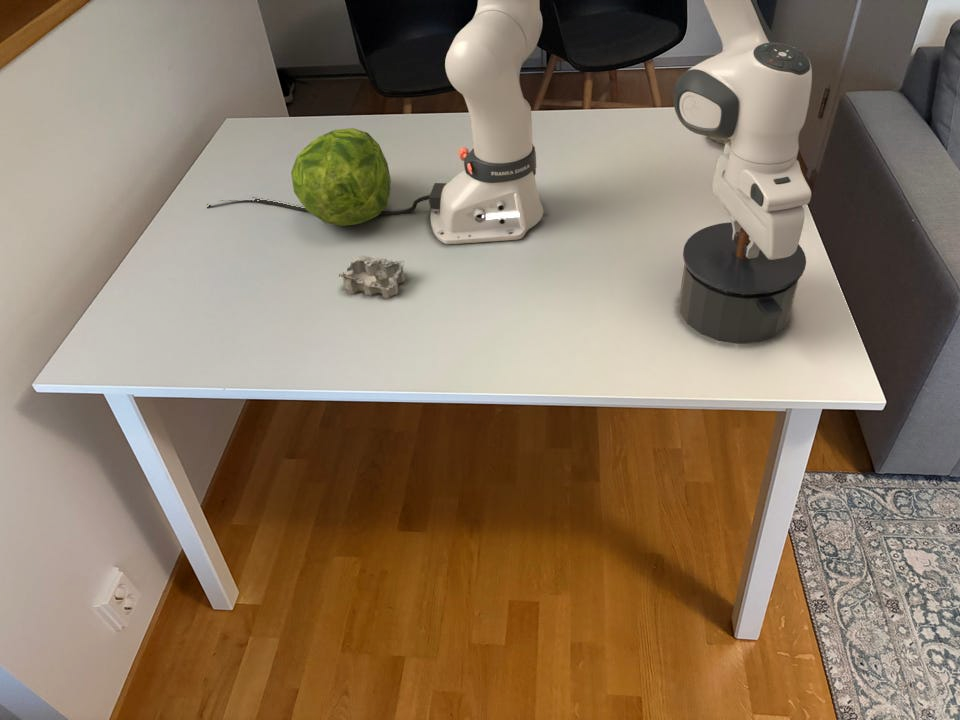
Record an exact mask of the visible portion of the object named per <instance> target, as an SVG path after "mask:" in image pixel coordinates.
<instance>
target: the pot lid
mask: <svg viewBox="0 0 960 720" xmlns="http://www.w3.org/2000/svg"><path fill="white" fill-rule="evenodd" d="M732 236H733V227H732V221H731V222H730V221H729V222H722V223H716V224H712V225H708V226H705V227H704V228H701V229H700V230H699V229H698V231H696V232H694V233H693V234H692V235H691V236H690V237H689V238H688V239H687V240H686V242H685V243H684V246H683V252H682V260H683V263H684V262H685V265H686V267H687V268H688V270H689V271H690V272H691V273H692V274H693V275H694V276H695V277H696V278H698V279H699V280H701V281H702V282H704V283H706V284H708V285H710V286H712V287H715V288H717V289H720V290H724V291H728V292H733V293H740V294H764V293H771V292H775V291H779V290H781V289H784V288H786V287H788V286H790V285H792V284H793V283H795V282H796V281H797V280H798V279H799V280H800V279H801V277H802V276H803V274H804V273H805V270H806V266H807V257H806V253H805V251H804V249H803V247H801V245H800V244H799V243H798V247H797V249H796V251H795V253H794V254H792V255H791V256H789V257H785V258H781V259H775V260H769V259H768V258H767V257H766V256H765V254H764V253H763V252H762V251H761V250H759V255H758V257H756V258H752V259H748V258H747V257H746V256H745V254H744V253H743V250H744V245H745V244H749V243H750V242H751V241H750V240H749V235H748V234H747V233H746V232H745V230H744V229H743V228H742V227H741V228H740V232H739V238H738V243H737V244H736V243H735V242H734V241H733V240H732Z"/></svg>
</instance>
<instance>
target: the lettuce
mask: <svg viewBox="0 0 960 720" xmlns="http://www.w3.org/2000/svg"><path fill="white" fill-rule="evenodd" d="M290 175H291V182H292V188H293V192H294V195H295V196H296V197H297V199H298V201H299V202H300V203H301V204H302V207H305V209H306V210H307V211H308V212H307V213H310V214H311V215H313V216H314V217H316V218H317V219H319V220H321V221H322V222H323V223H324V224H325V223H326V224H328V225H329V224H330V225H332V226H333V225H334V226H338V227H343V226H344V227H346V226H354V225H360V224H363V223H365V222H367V221H370V220H372V219H374V218H376V217H379V216H380V215H379V214H380V213H381V212H382V211H384V210H385V209H386V207H387V206H388V205H389V201H390V193H391V186H392V185H391V184H392V177H391V174H390V168H389V163H388V162H387V158H386V157H385V154H384V152H383V150H382V148H381V145H380V143H378V142H377V141H376V140H375V139H374V138H373V136H372V135H370V133H369V132H366V131H363V130H360V129H357V128H354V127H350V128H349V127H348V128H339V129H334V130H331V131H328V132H327V133H325V134H323V135H320V136H318V137H316V138H315V139H313V140H312V141H310V143H309V144H308V145H306V146H305V147H304V148H303V149H302V150H300V152H299V153H298V154H297V155H296V158H295V161H294V164H293V166H292V169H291V172H290Z"/></svg>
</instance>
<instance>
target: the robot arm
mask: <svg viewBox="0 0 960 720" xmlns="http://www.w3.org/2000/svg"><path fill="white" fill-rule="evenodd" d="M702 1H703V3H704V6H705V8H706V10H707V12H708V14H709V17H710V18H711V21H712V23H713V25H714V27H715V30H716V31H717V34H718V36H719V39H720V41H721V45H722V51H721V52H719V53H717V54H716V55H714V56H710V57H708V58H707V59H705V60H703V61H700V62H699V63H697V64H695V65H694V66H692V67H690V68H688V70H686V71H685V72H683V73H682V74H681V75H680V76H679V77H678V79H677V80H676V83H675V85H674V90H673V98H672V99H673V108H674V112H675V114H676V117H677V118H678V121H679V122H680V123H681V124H682V125H683V127H685V128H686V129H687V130H689V131H690V132H692V133H694V134H696V135H700V136H703V137H704V136H705V137H707V136H709V137H714V138H729V139H730V140H731V141H729V142H728V143H726V144H725V145H724V149H723V153H722V154H720V155H719V157H718V160H717V163H716V166H715V170H714V174H713V178H712V185H711V186H712V191H713V195H714V196H715V197H716V198H717V199H718V200H719V202H720V203H721V204H722V206H723V207H724V208H725V209H726V210H727V211H728V212H729V214H730V221H731V222H732V227H733V236H732V240H733V241H734V242H735V243H736V244H737V243H738V238H739V232H740V228H741V227H742V228H743V229H744V230H745V232H746V233H747V234H748V235H749V240H750V241H751V242H750V243H749V244H745V245H744V250H743V253H744V254H745V256H746V257H747V258H748V259H752V258H756V257H758V255H759V250H761V251H762V252H763V253H764V254H765V256H766V257H767V258H768V259H769V260H775V259H781V258H785V257H789V256H791V255H792V254H794V253H795V251H796V249H797V247H798V244H799V243H800V241H801V237H802V236H801V235H802V232H803V229H804V224H805V209H804V206H806V205H808V204H810V202H811V199H812V190H811V188H810V186H809V184H808V182H807V181H806V179H805V176H804V174H803V172H802V170H801V165H800V161H799V160H798V159H797V158H798V154H799V149H800V143H799V136H800V133H801V130H802V129H803V127H804V126H805V123H806V119H807V115H808V110H809V105H810V100H811V99H810V98H811V93H812V84H813V69H812V68H813V67H812V64H811V61H810V58H809V57H808V55H807V54H806V53H805V52H804V51H802V50H801V49H799V48H798V47H796V46H794V45H791V44H788V43H783V42H780V41H779V40H778V38H777V37H776V36H775V34H774V33H773V32H772V30H771V29H770V27H769V25H768V24H767V22H766V20H765V18H764V16H763V14H762V11H761V9H760V7H759V4H758V2H757V0H702ZM540 4H541V3H540V0H477V6H476V10H475V13H474V15H473V17H472V19H471V20H470V21H468V23H467V24H466V25H465V26H464V27H463V28H461V29H460V30H459V32H458V33H457V34H456V35H455V37H454V38H453V40H452V43H451V44H450V46H449V49H448V51H447V53H446V56H445V60H444V61H445V63H444V69H445V73H446V77H447V79H448V81H449V82H450V84H451V85H452V87H453V88H454V89H455V90H456V91H457V92H458V93H460V94H461V95H462V96H463V98H464V101H465V104H466V108H467V110H468V115H469V121H470V128H471V139H472V149H471V150H470V151H469V149H468V148H467V147H466V146H462V147H460V148H459V150H458V151H457V154H458V156H459V159H460V160H461V161H462V162H463V168H464V169H463V170H461V172H459V173H458V174H457V175H455V177H453V178H452V179H451V180H450V181H448V182H446V183H445V182H435V183H434V184H433V186H432V188H431V191H430V193H429V194H427V195H422V196H420V197H419V198H417V199H415V200H414V201H413V202H412V206H411V207H409V208H407V209H403V210H393V211H392V210H383V211H382V212H381V213H380V214H379V215H378V216H398V215H405V214H410V213H413V212H414V211H415V210H416V209H417V206H418V204H420V203H422V202H424V201H428V202H429V209H430V210H431V212H430V225H431V230H432V233H433V235H434V236H435V237H436V238H437V239H438V241H440V242H441V243H443V244H445V245H461V244H476V243H488V242H503V241H505V242H506V241H517V240H521V239H523V238H524V236H525V235H526V234H527V232H528V231H529V230H530V229H532V228H533V227H535V226H536V225H537V224H538V223H540V221H541V220H542V218H543V217H544V208H543V205H542V202H541V198H540V195H539V191H538V187H537V182H536V174H537V152H536V147H535V146H534V143H533V122H532V120H533V119H532V118H533V117H532V108H531V105H530V102H528V100H527V99H526V98H525V97H524V94H523V91H522V88H521V82H520V76H521V75H520V74H521V69H522V66H523V65H524V63H525V62H526V61H527V59H528V58H529V57H530V56H531V55H532V53H533V52H534V51H535V49H536V47H537V45H538V44H539V43H538V42H539V39H540V37H541V34H542V31H543V23H544V22H543V16H542V12H541V10H540V9H541V7H540V6H541V5H540ZM709 137H708V138H709ZM252 198H254V197H252ZM257 200H259V201H258V202H257ZM267 200H268V199H267ZM267 200H260V199H255V200H254V201H255V202H256V203H261V204H267V205H272V206H273V205H274V206H280V207H284V208H288V209H291V210H297V211H302V212H306V213H309V212H308V211H307V210H306V209H305V208H301V207H303V205H300V206H301V207H296V206H298V205H296V204H295V205H296V206H291V205H287V204H283V203H278V202H273V201H275V200H274V199H273V201H267ZM250 202H253V201H252V200H251V201H250Z"/></svg>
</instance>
